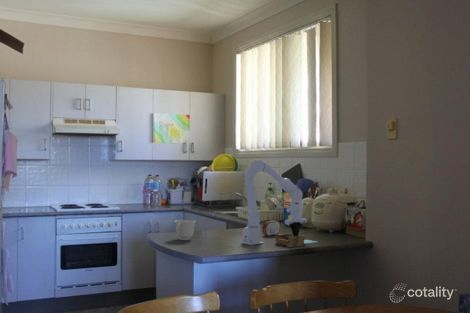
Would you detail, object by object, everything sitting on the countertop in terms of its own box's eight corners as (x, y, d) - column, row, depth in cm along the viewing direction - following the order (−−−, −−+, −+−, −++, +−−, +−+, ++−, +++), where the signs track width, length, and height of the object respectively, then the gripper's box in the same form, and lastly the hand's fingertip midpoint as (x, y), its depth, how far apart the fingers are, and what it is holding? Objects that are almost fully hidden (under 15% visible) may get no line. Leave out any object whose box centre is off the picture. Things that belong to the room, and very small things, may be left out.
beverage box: (299, 226, 340) (300, 193, 341) (283, 225, 344) (284, 192, 344) (301, 224, 347) (302, 192, 347) (285, 223, 351) (286, 191, 351)
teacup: (167, 241, 272) (167, 222, 272) (179, 237, 286) (180, 219, 286) (187, 242, 268) (188, 223, 268) (199, 238, 282) (199, 220, 282)
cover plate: (303, 245, 267) (303, 243, 267) (292, 243, 273) (292, 241, 273) (317, 243, 274) (317, 241, 274) (306, 241, 280) (306, 239, 280)
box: (288, 247, 259) (288, 237, 259) (274, 244, 266) (275, 234, 266) (305, 244, 266) (305, 235, 266) (291, 242, 274) (291, 232, 274)
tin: (276, 233, 306) (276, 219, 306) (281, 234, 304) (281, 219, 304) (261, 236, 294) (261, 221, 294) (266, 236, 292) (266, 222, 292)
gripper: (291, 212, 261) (291, 239, 261) (311, 210, 271) (310, 236, 270) (282, 211, 267) (281, 237, 267) (301, 209, 276) (300, 234, 276)
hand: (295, 236), depth 269 cm, fingers closed
